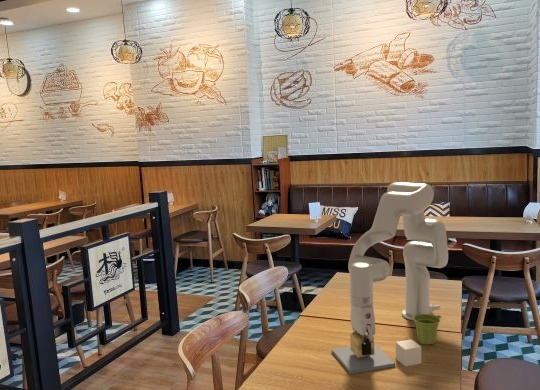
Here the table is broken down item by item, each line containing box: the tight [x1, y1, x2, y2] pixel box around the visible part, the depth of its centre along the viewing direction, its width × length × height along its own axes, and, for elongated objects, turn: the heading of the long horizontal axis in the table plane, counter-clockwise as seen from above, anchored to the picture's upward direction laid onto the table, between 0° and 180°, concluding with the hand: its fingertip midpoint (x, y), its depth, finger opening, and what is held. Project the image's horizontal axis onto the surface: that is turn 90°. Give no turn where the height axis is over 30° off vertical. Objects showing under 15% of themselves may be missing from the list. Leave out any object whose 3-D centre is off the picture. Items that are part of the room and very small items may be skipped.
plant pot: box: [412, 314, 441, 345], centre depth 170 cm, size 9×9×9 cm
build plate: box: [331, 343, 396, 375], centre depth 159 cm, size 16×16×1 cm
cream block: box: [395, 339, 422, 367], centre depth 156 cm, size 6×6×6 cm
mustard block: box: [349, 332, 375, 357], centre depth 158 cm, size 6×6×6 cm
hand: (362, 349), depth 159 cm, fingers closed on mustard block, 5 cm apart
